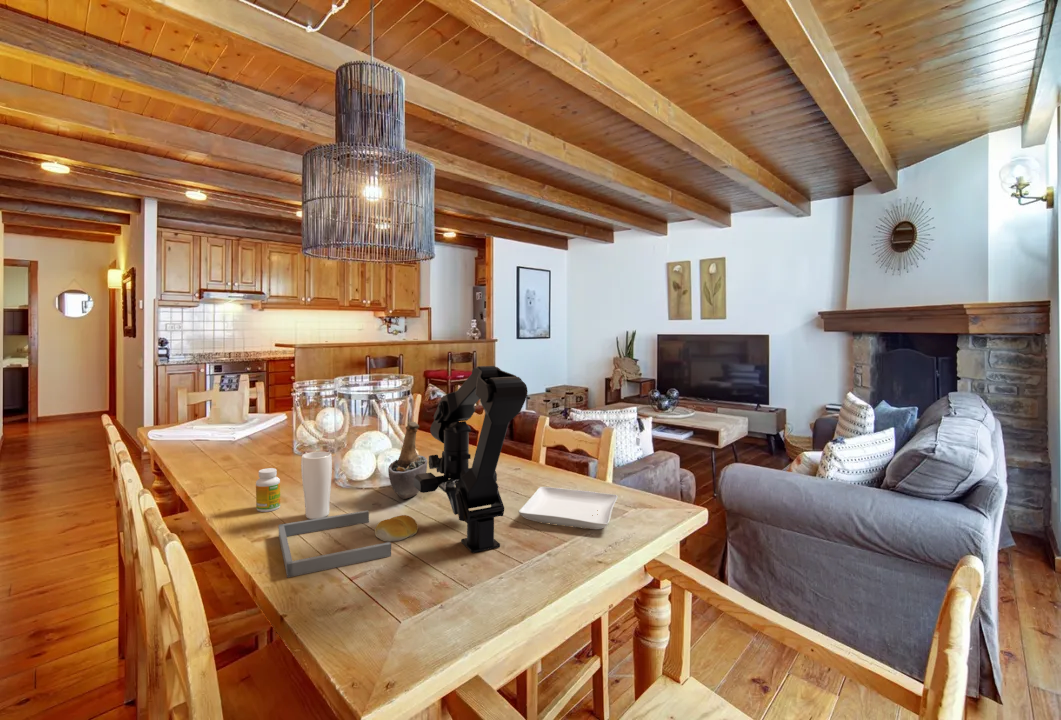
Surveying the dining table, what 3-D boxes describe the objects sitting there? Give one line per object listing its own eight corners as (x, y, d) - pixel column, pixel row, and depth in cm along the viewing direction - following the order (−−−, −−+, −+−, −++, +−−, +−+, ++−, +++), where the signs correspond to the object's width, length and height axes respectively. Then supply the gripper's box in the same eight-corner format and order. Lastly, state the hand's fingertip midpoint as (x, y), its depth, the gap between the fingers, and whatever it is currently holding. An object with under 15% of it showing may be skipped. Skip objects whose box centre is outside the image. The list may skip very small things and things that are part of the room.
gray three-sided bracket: (391, 555, 104) (391, 543, 104) (287, 577, 95) (286, 564, 95) (367, 520, 123) (367, 510, 123) (278, 535, 113) (278, 524, 113)
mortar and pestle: (396, 508, 131) (396, 430, 130) (370, 491, 144) (369, 419, 142) (447, 496, 140) (448, 423, 139) (418, 481, 153) (418, 414, 152)
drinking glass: (300, 522, 121) (298, 459, 120) (304, 512, 127) (303, 452, 126) (331, 520, 123) (330, 457, 122) (333, 509, 129) (333, 450, 128)
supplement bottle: (270, 513, 127) (269, 474, 126) (251, 511, 128) (250, 472, 127) (285, 505, 132) (284, 468, 131) (266, 503, 133) (265, 466, 132)
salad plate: (618, 505, 136) (618, 492, 136) (607, 537, 116) (608, 522, 116) (539, 497, 142) (540, 484, 142) (516, 526, 122) (517, 512, 121)
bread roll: (424, 532, 117) (424, 515, 117) (392, 546, 110) (392, 527, 109) (400, 523, 122) (400, 507, 121) (368, 536, 114) (368, 518, 114)
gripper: (479, 437, 133) (478, 497, 134) (406, 445, 124) (407, 509, 125) (498, 447, 123) (497, 511, 124) (421, 456, 114) (421, 525, 115)
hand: (456, 513), depth 122 cm, fingers closed
